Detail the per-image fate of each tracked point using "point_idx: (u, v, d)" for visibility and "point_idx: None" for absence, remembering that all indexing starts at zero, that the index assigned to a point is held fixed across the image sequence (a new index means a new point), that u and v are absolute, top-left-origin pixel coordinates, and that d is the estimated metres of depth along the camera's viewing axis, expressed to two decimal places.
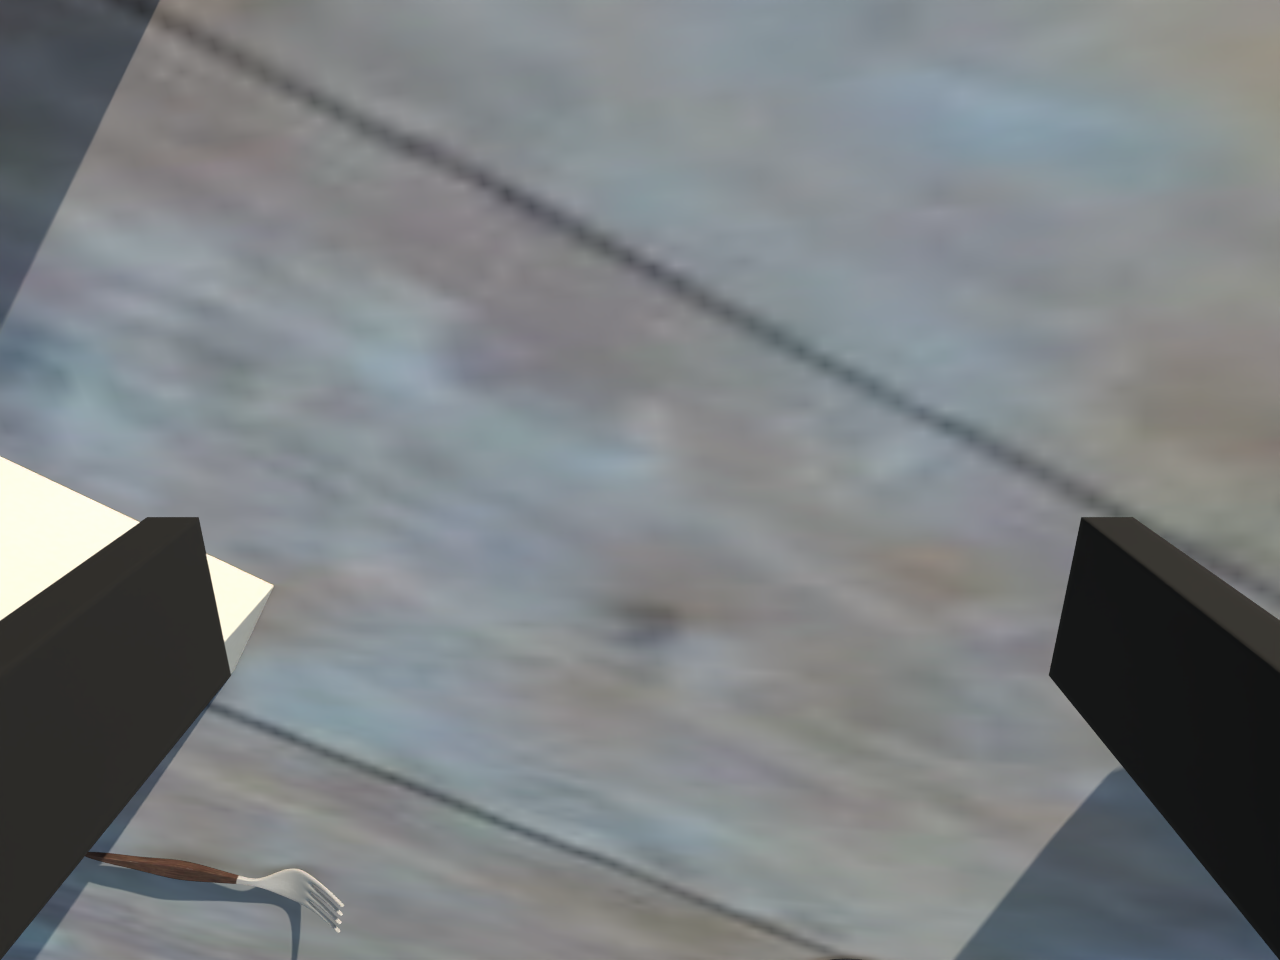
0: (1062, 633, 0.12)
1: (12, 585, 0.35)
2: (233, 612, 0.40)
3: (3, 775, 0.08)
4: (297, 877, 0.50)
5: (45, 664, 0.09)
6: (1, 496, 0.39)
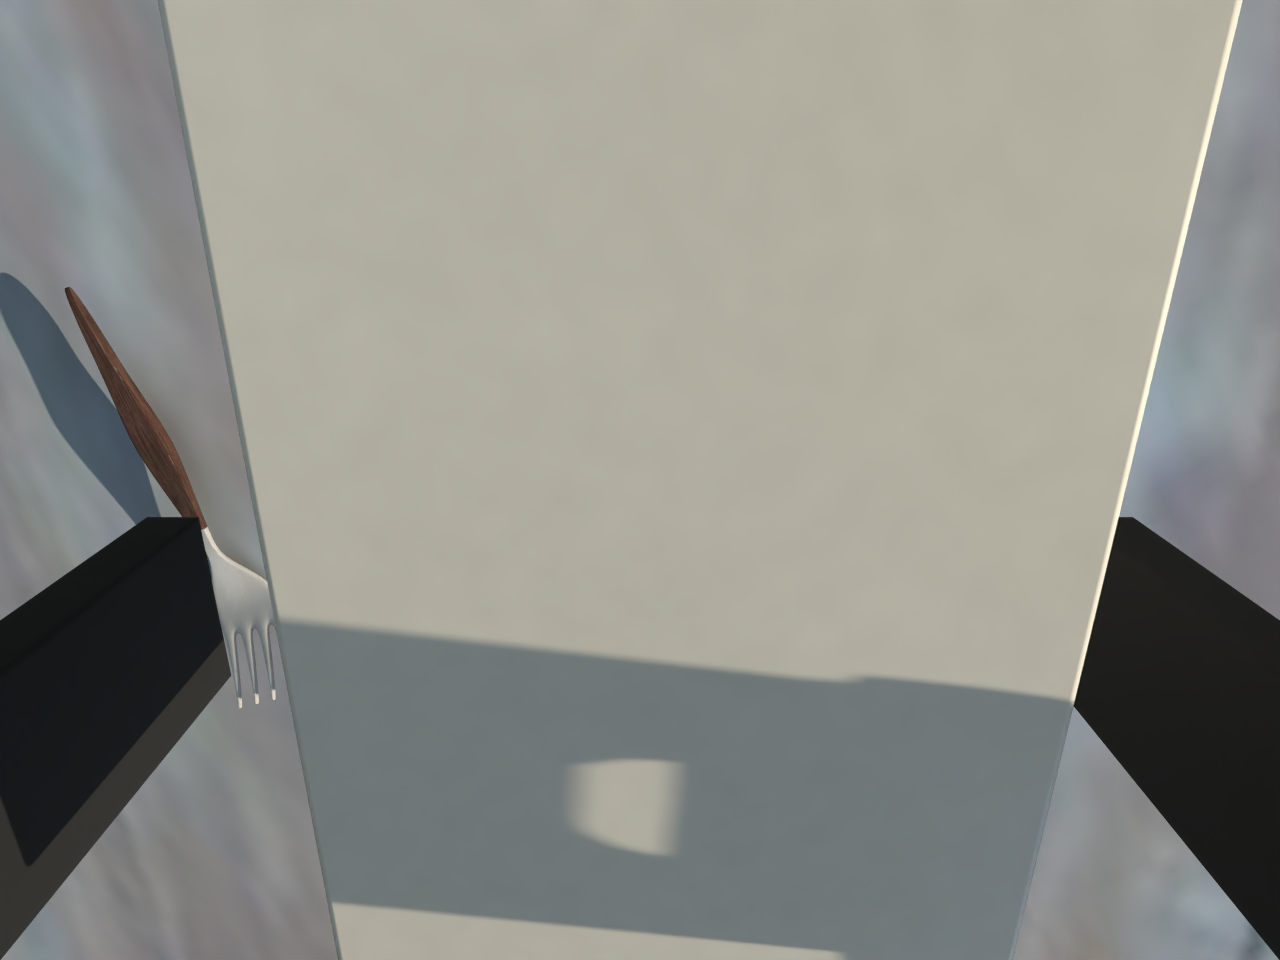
0: None
1: None
2: None
3: (3, 775, 0.08)
4: (264, 600, 0.31)
5: (45, 664, 0.09)
6: None
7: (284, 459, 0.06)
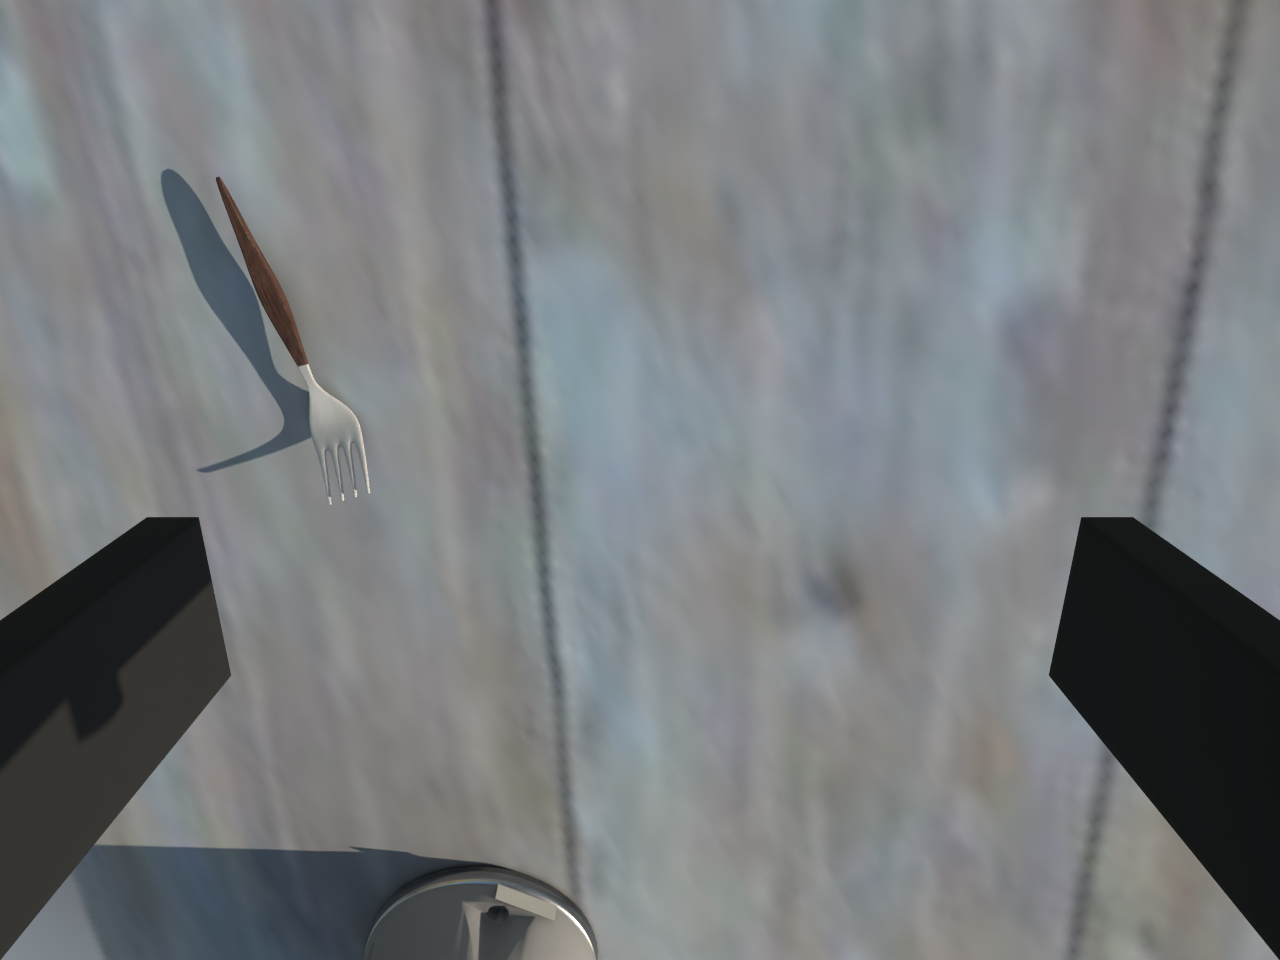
0: (1062, 633, 0.12)
1: None
2: None
3: (3, 775, 0.08)
4: (347, 424, 0.42)
5: (45, 664, 0.09)
6: None
7: None
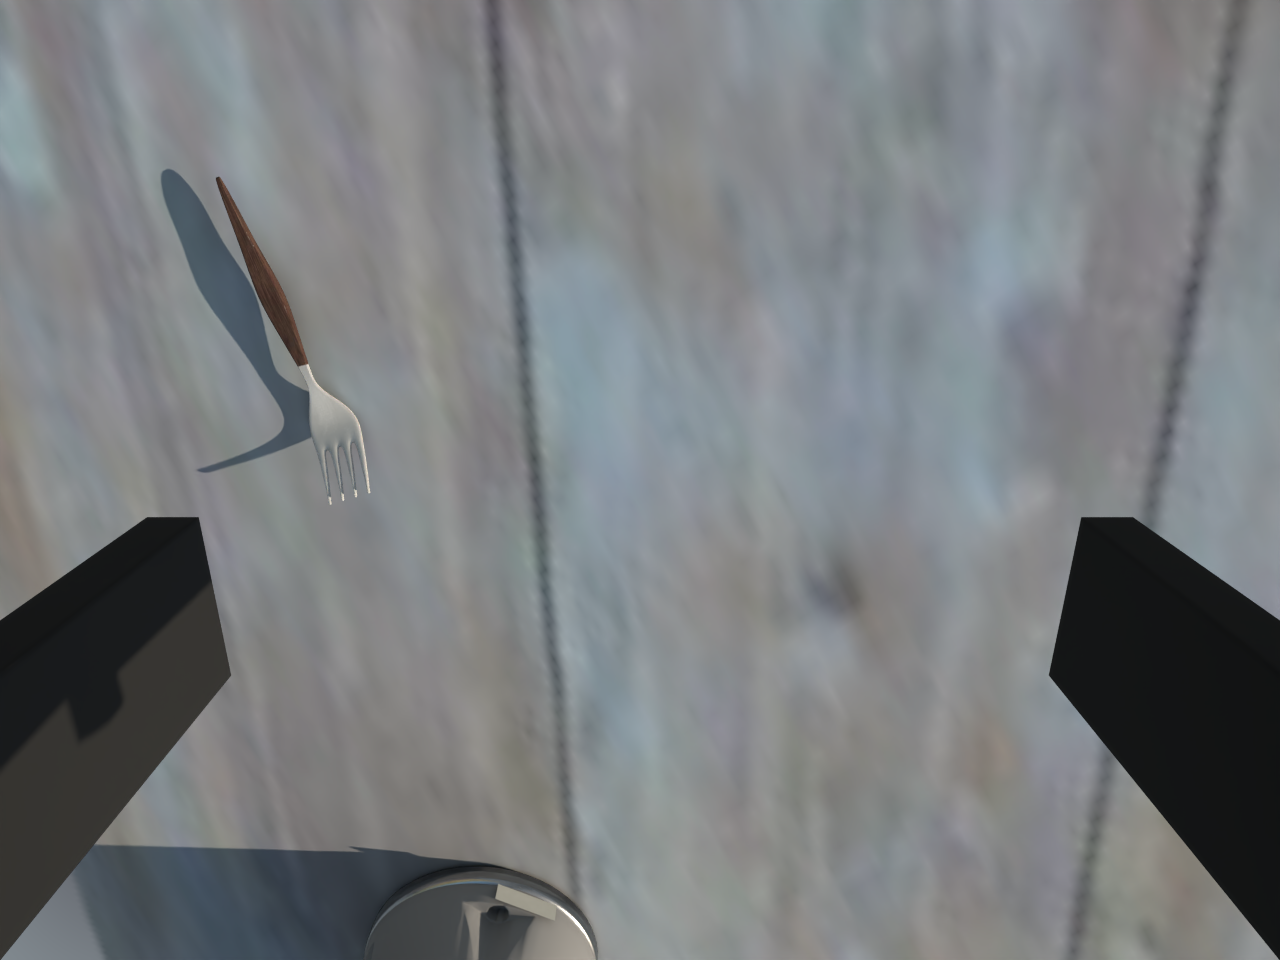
0: (1062, 633, 0.12)
1: None
2: None
3: (3, 775, 0.08)
4: (347, 424, 0.42)
5: (45, 664, 0.09)
6: None
7: None
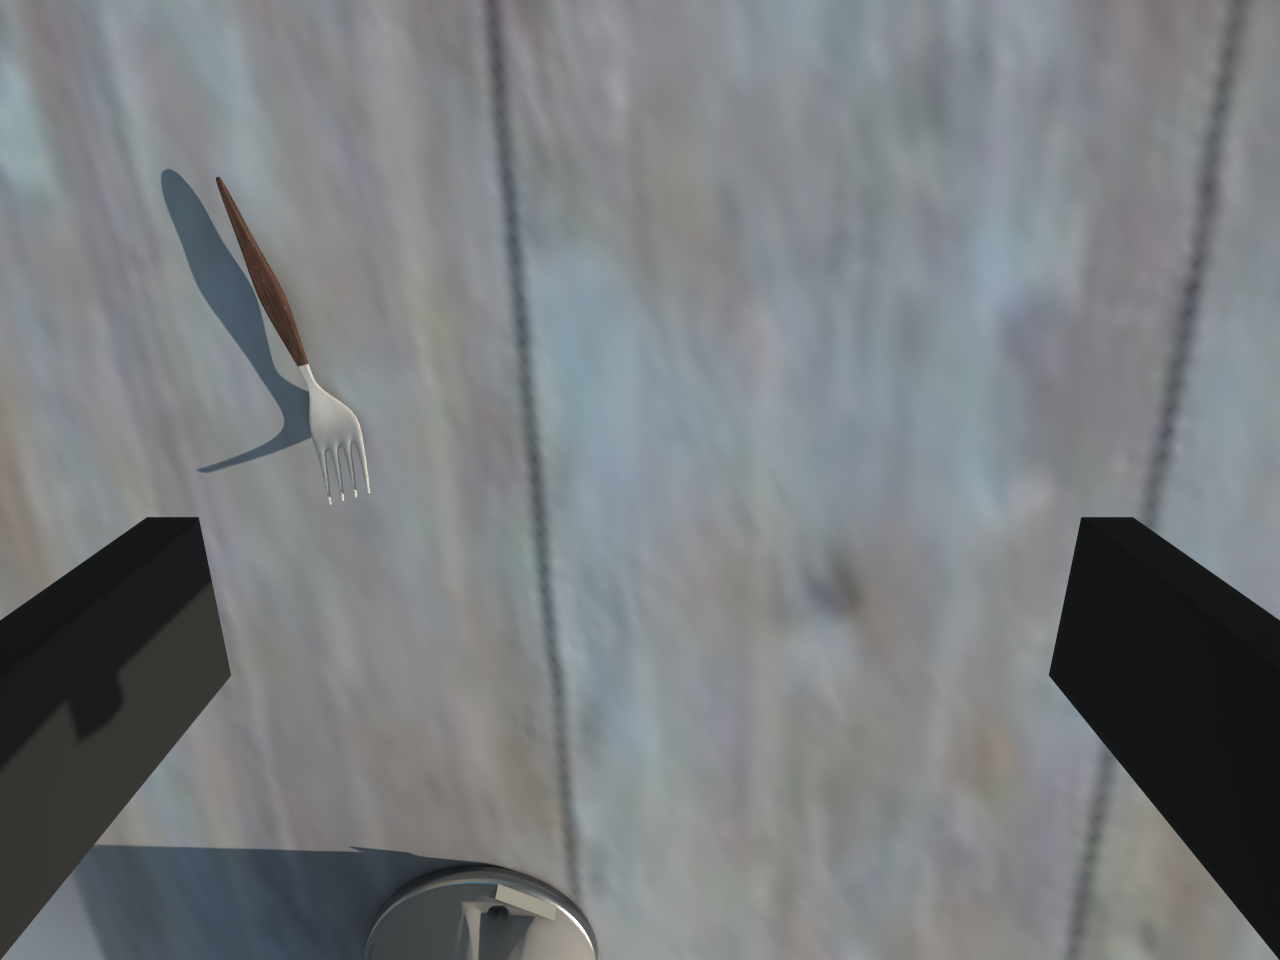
0: (1062, 633, 0.12)
1: None
2: None
3: (3, 775, 0.08)
4: (347, 424, 0.42)
5: (45, 664, 0.09)
6: None
7: None
